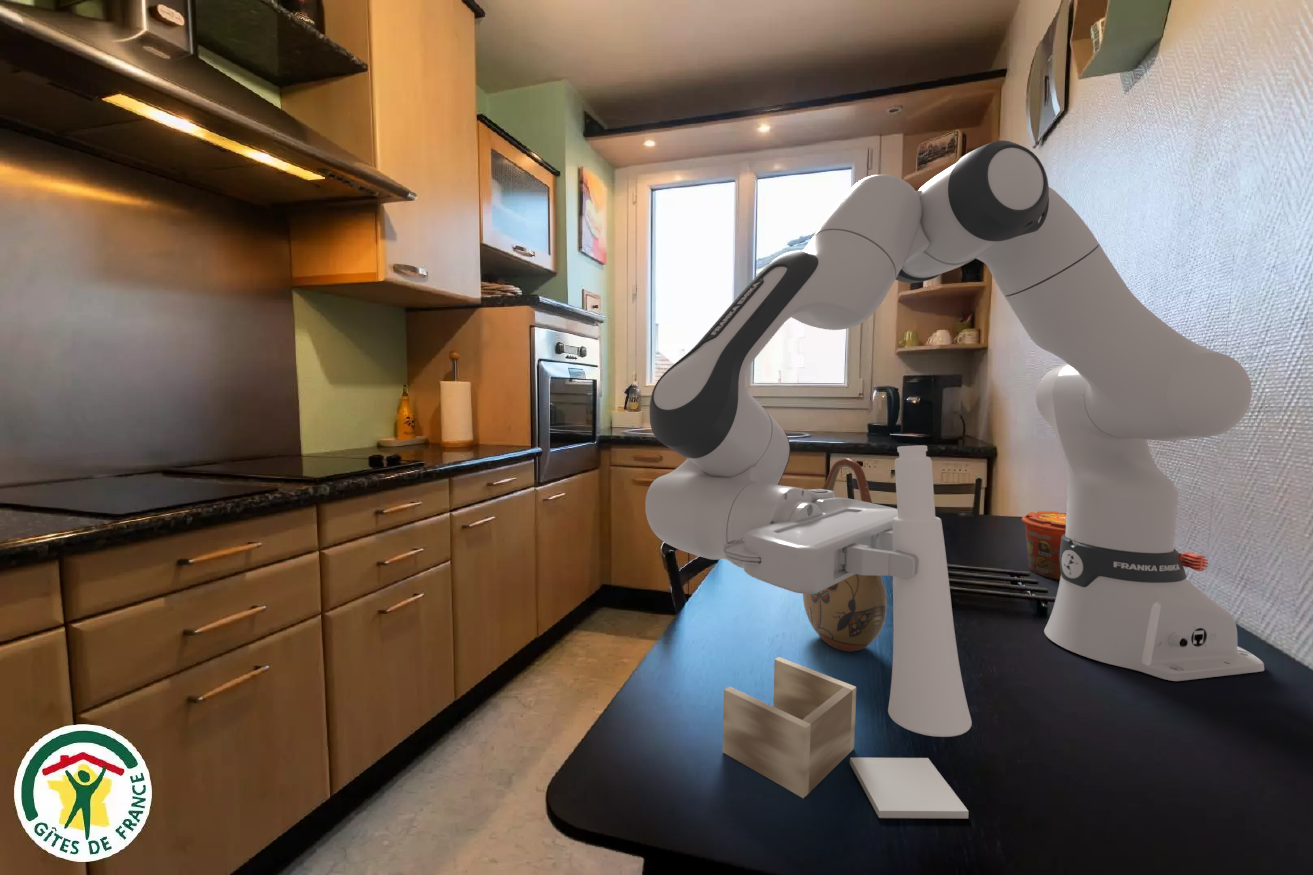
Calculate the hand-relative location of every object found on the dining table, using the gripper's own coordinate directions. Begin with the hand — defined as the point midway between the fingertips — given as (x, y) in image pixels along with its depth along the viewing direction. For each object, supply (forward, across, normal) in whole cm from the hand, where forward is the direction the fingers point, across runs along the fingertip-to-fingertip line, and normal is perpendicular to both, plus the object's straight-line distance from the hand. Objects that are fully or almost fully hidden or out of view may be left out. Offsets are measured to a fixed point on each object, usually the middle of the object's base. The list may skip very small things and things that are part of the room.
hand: (927, 560), depth 45 cm
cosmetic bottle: (+1, 0, +13) cm, 13 cm away
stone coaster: (-1, 0, +20) cm, 20 cm away
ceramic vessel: (-17, +22, +20) cm, 35 cm away
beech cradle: (-11, -3, +20) cm, 23 cm away
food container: (-1, +82, +20) cm, 85 cm away
